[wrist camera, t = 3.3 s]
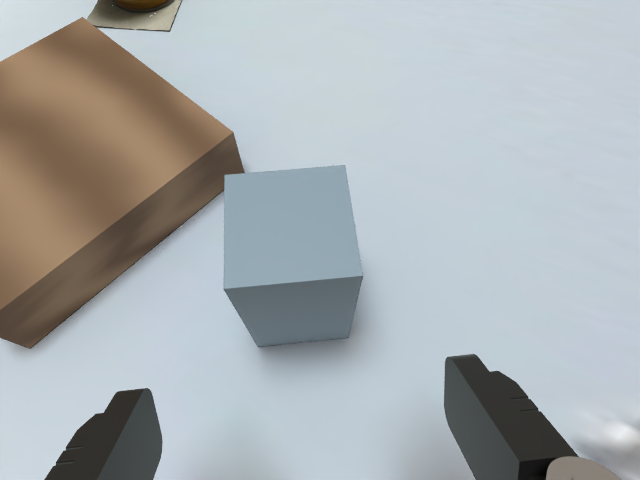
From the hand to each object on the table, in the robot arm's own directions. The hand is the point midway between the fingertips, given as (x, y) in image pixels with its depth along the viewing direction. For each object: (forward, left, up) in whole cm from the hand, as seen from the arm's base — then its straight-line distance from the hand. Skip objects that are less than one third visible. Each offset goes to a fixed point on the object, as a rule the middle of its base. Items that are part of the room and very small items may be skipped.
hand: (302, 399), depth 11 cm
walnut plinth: (0, -22, -11) cm, 24 cm away
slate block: (-4, -5, -11) cm, 13 cm away
